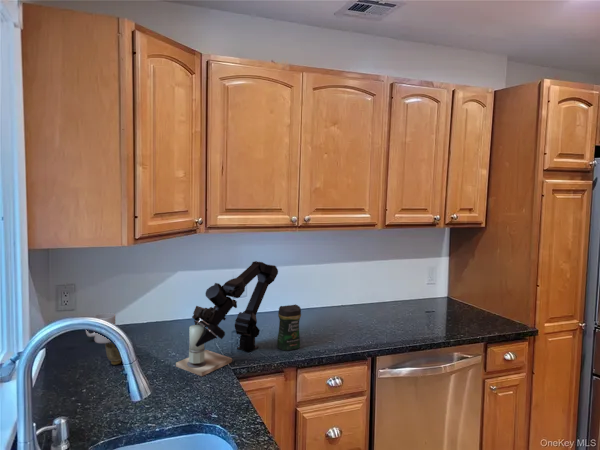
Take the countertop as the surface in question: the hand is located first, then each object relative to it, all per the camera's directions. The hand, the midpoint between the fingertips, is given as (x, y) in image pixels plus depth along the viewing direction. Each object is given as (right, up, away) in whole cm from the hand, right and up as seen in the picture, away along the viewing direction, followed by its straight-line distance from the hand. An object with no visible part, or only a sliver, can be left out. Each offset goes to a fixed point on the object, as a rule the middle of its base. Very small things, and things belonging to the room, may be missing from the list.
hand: (193, 343), depth 166 cm
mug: (-47, -6, +26) cm, 54 cm away
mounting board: (+3, -9, +5) cm, 11 cm away
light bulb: (+1, -7, +2) cm, 7 cm away
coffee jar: (+35, -8, +24) cm, 44 cm away
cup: (-31, -9, +3) cm, 32 cm away
